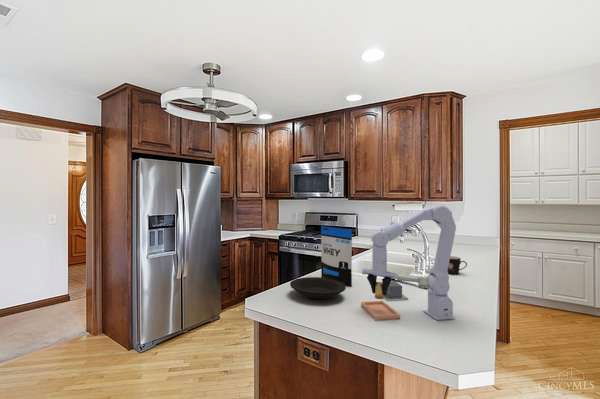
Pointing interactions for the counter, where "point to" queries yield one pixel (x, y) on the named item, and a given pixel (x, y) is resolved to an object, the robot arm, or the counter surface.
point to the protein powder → (336, 254)
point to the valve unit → (395, 292)
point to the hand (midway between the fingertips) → (379, 293)
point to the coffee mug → (454, 265)
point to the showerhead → (428, 270)
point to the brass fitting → (379, 290)
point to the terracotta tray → (380, 310)
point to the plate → (317, 287)
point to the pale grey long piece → (414, 280)
